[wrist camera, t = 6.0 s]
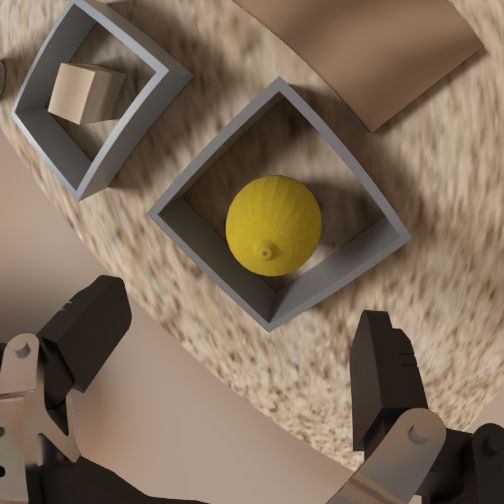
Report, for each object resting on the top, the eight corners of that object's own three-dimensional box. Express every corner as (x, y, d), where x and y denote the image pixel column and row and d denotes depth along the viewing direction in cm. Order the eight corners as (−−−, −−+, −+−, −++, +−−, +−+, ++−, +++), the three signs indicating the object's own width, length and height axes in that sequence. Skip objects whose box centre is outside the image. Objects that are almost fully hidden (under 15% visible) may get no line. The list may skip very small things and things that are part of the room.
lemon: (291, 252, 23) (278, 319, 16) (229, 211, 22) (189, 262, 15) (336, 195, 20) (347, 243, 13) (270, 149, 19) (244, 172, 12)
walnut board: (477, 47, 12) (484, 45, 11) (369, 132, 18) (371, 133, 17) (341, -81, 9) (342, -87, 9) (225, -4, 15) (221, -9, 14)
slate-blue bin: (194, 75, 18) (169, 70, 14) (107, 187, 23) (77, 201, 20) (105, 3, 15) (75, -6, 12) (40, 108, 21) (10, 114, 17)
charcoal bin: (397, 215, 20) (412, 238, 16) (275, 301, 25) (268, 332, 21) (286, 83, 17) (279, 75, 14) (171, 196, 22) (146, 213, 19)
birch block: (127, 74, 19) (95, 72, 15) (111, 119, 20) (79, 124, 17) (93, 64, 18) (61, 62, 15) (80, 106, 20) (47, 111, 17)
